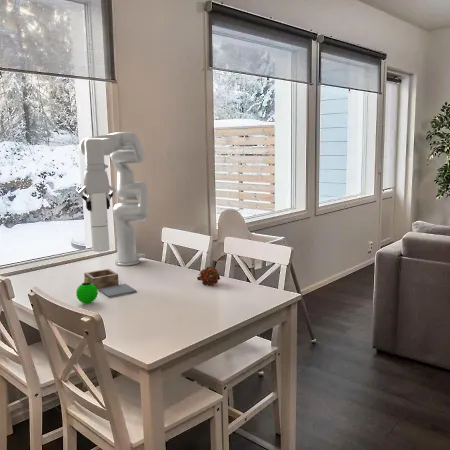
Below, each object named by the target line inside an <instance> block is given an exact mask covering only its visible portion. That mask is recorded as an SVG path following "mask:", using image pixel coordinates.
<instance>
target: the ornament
mask: <svg viewBox="0 0 450 450" xmlns="http://www.w3.org/2000/svg"><path fill="white" fill-rule="evenodd" d="M85 280H87V281H85ZM98 292H99V290H98V289H97V288H96V286H95V285H93V284H92V283H90V282H88V278H85V277H84V278H83V282H82V283H81V284H80V285H79V286H78V287H77V288H76V297H77V299H78V301H79V302H81V303H83V304H91V303H93V302H94V301H95V300H96V299H97V298H98Z"/></svg>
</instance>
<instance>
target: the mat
mask: <svg viewBox="0 0 450 450" xmlns="http://www.w3.org/2000/svg"><path fill="white" fill-rule="evenodd" d="M98 292H100V293H102V294H103V295H104V296H106V297H107V298H109V299H110V298H114V297H119V296H124V295H129V294H130V295H131V294H134V293H137V289H135V288H134V287H132V286H130V285H129V284H127V283H122V284H119V285H116V286H110V287H105V288H100V289H98Z"/></svg>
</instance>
